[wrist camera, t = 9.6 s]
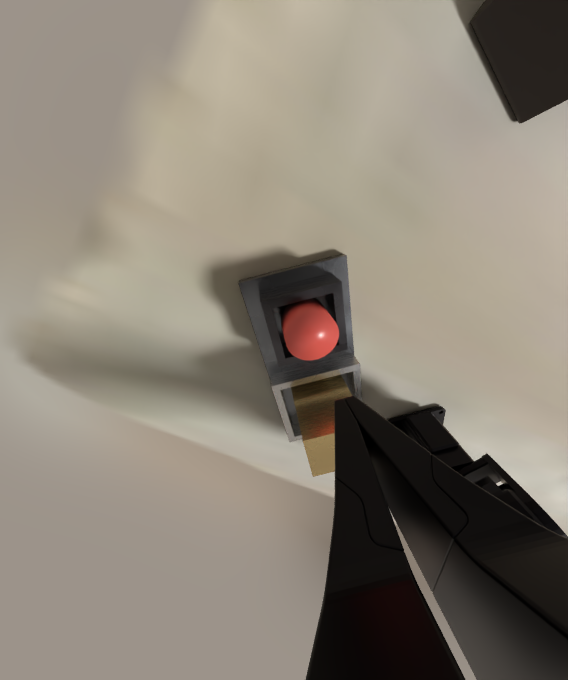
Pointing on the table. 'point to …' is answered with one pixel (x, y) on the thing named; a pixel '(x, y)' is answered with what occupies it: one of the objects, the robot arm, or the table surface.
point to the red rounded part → (309, 330)
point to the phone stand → (526, 51)
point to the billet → (319, 420)
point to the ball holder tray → (265, 314)
